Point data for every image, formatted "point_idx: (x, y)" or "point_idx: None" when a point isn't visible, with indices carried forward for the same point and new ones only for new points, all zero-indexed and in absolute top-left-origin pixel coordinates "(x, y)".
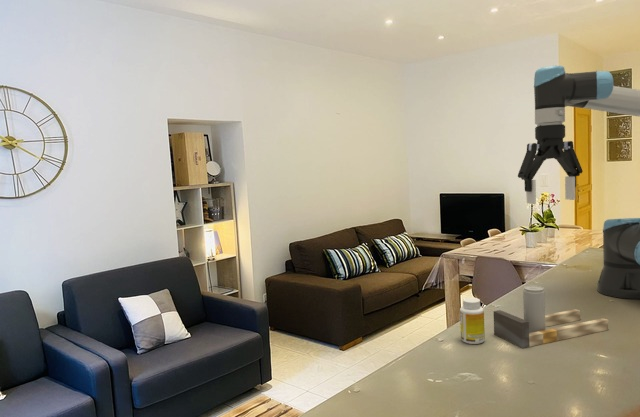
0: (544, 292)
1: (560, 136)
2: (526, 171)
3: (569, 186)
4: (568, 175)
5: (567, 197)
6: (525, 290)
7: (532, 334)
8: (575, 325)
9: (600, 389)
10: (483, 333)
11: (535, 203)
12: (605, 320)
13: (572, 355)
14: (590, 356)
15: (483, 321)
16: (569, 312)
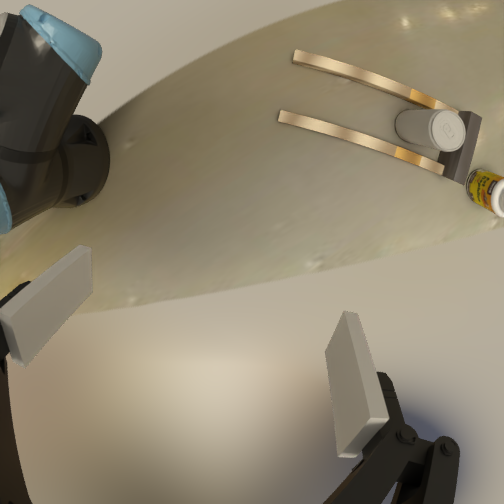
0: (440, 109)
1: None
2: (451, 473)
3: (52, 305)
4: (5, 358)
5: (87, 285)
6: (461, 141)
7: (450, 110)
8: (368, 75)
9: (481, 6)
10: (484, 171)
11: (347, 312)
12: (302, 51)
13: (434, 52)
14: (419, 33)
15: (494, 175)
16: (306, 117)
